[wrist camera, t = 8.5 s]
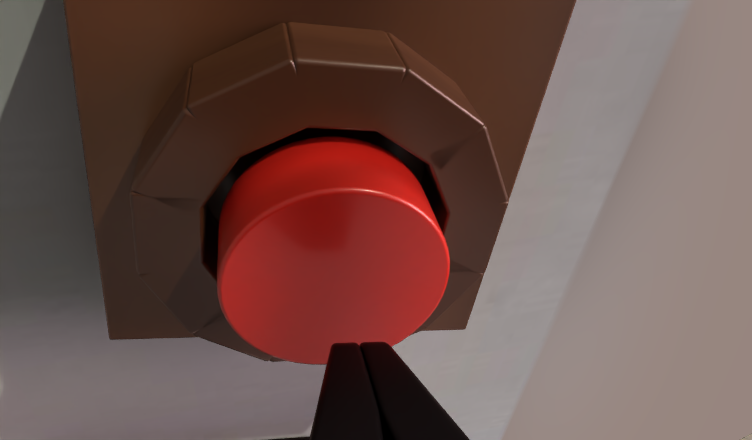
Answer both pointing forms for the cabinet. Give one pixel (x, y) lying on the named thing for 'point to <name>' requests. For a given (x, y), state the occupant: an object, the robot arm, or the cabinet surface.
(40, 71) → the cabinet surface
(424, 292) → the button
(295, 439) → the panel
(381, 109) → the button block
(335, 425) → the robot arm
